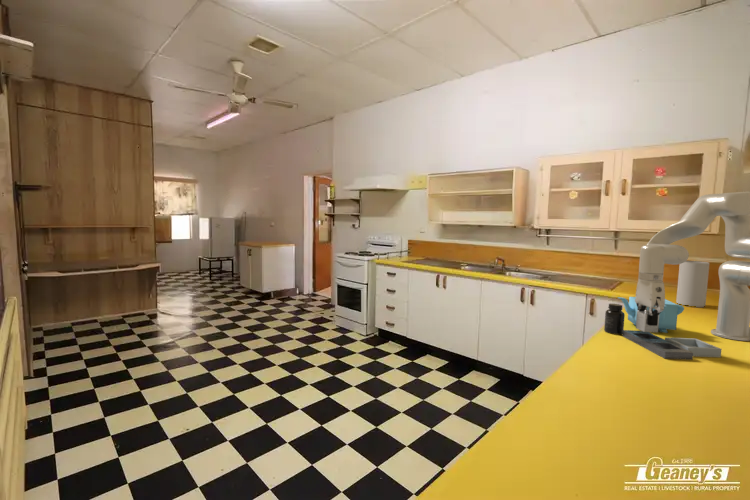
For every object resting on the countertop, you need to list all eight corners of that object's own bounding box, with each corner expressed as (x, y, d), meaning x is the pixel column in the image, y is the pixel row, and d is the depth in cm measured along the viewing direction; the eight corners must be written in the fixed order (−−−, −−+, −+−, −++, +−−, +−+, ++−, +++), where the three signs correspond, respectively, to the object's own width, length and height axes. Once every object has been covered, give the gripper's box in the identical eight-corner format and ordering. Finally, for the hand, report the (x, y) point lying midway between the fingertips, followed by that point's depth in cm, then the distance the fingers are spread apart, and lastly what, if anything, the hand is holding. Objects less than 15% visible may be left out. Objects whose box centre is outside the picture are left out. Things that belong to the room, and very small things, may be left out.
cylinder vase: (671, 303, 206) (675, 261, 204) (682, 301, 211) (686, 260, 209) (699, 308, 195) (703, 263, 193) (709, 306, 200) (713, 262, 198)
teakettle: (685, 331, 153) (688, 298, 152) (662, 337, 145) (665, 302, 144) (637, 320, 170) (639, 290, 169) (614, 325, 162) (616, 293, 160)
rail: (622, 336, 146) (622, 330, 146) (644, 336, 145) (645, 330, 145) (664, 358, 122) (665, 351, 122) (692, 359, 122) (693, 352, 121)
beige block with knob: (649, 328, 141) (650, 309, 140) (658, 332, 136) (659, 312, 135) (635, 328, 141) (637, 308, 140) (644, 332, 136) (645, 312, 135)
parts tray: (695, 346, 135) (695, 338, 135) (720, 357, 124) (721, 349, 124) (664, 345, 136) (665, 337, 136) (687, 355, 125) (688, 347, 125)
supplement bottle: (626, 335, 147) (628, 307, 146) (608, 334, 148) (610, 306, 147) (618, 330, 154) (620, 303, 153) (601, 329, 155) (603, 302, 154)
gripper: (677, 281, 128) (674, 330, 129) (645, 273, 145) (642, 317, 146) (655, 280, 128) (652, 329, 130) (626, 273, 145) (623, 316, 147)
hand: (647, 322), depth 138 cm, fingers closed on beige block with knob, 5 cm apart
